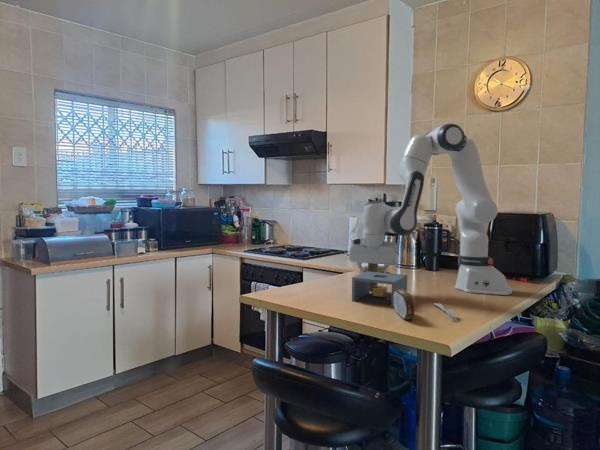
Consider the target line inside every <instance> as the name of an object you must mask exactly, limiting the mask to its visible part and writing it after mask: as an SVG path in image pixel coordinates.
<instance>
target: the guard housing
mask: <svg viewBox="0 0 600 450" xmlns="http://www.w3.org/2000/svg"><path fill="white" fill-rule="evenodd" d="M351 279H352V280H351V302H356V301H358V300H361V299H362V301H364V302H370V303H375V304H382V305H383V304H385V305H389V304H390V307H391V308H394V304H393V303H394V300H393V292H394V290H395V289H404V290H405V291H407V292H408V274H401V273H400V274H398V273H392V272H391V273H388V272H386V273H380V272H370V271H367V272H365V273H359V274H357V275H355V276H352V277H351ZM370 282H374V283H377V284H385V285H391V294H387V295H386V296H384V297H380V296H373V292H371V291H370Z"/></svg>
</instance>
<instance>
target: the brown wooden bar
mask: <svg viewBox="0 0 600 450" xmlns="http://www.w3.org/2000/svg"><path fill="white" fill-rule="evenodd" d="M368 271H370V272H378V264H373V263H368ZM376 286H378V283H374V282H370V292H373V288H374V287H376Z"/></svg>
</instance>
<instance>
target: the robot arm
mask: <svg viewBox="0 0 600 450" xmlns="http://www.w3.org/2000/svg"><path fill="white" fill-rule="evenodd" d="M442 154H443V155H444V154H447V155H448V156H449V158H450V159H451V165H452V170H453V175H454V180H455V184H456V189H458V191H459V193H460V196H461V197H462V199H461V200H459V201H458V202H457V203H456V205H455V209H454V211H455V214H456V217H457V223H458V224H457V225H458V230H459V237H460V240H459V254H458V259H457V261H458V263H457V266H458V273H457V277H456V282H455V285H454V288H455V289H457V290H461V291H463V292H466V293H473V294H486V295H500V296H502V295H503V296H508V295H509V296H510V295H511V294H513V288H512V287H509V286H508V282H507V279H506V276H505V275H504V274H503V273H502V272H501V271H499V270H498V269H497V268H495V267H494V266H493V264H494V259H493V258H492V257H490V256H489V236H488V234H487V231H486V227H485V224H487V223H489V222H492V221H494V220H495V218H496V217H497V215H498V213H499V212H498V206H497V204H496V203H495V202H494V200H493V199H492V196H491V193H490V191H489V189H488V186H487V183H486V181H485V177H484V173H483V167H482V164H481V163H482V162H481V158H480V153H479V151H478V148H477V145H476V143H475V142H474V140H473V139H471V138H468V137H467V136H466V134H465V132H464V130H463V129H462V128H461V126H460V125H458V124H455V123H447V124H444V125H443V124H442V125H440V126H437V127H435V129H433V130H430V131H429V132H427V133H426V134H425V135H424V134H416V135H413V136H412V137H410V139H409V140H408V143H407V145H406V147H405V148H404V152H403V154H402V155H401V159H400V162H399V166H398V175H399V177H400V178H401V179H402V181H403V182H404V184H405V191H404V194H403V199H402V202H401V204H400V205H401V206H400V207H399V208H398V209H396V208H394V207H393V206H392V207H391V206H390V205H387V204H386V203H385V202H384V201H382V200H375V201H374V200H373V201H369V202H367V203H366V204H365V205H364V208H363V215H362V224H363V231H362V236H359V237H357V238H353V239H351V241H350V242H351V243H350V244H351V246H350V247H349V251H348V259H349V262H351V263H356V265H357V268H358V269H359V274H362V273H364V269H363V268H362V266H361V265H362V263H373V264H384V267H386V268H385V270H384V271H382V273H387V271H389V270H388V269H389V268H390V266H396V265H397V264H398V263H399V253H398V252H399V245H398V243H396V242H394V241H386V240H385V238H386V237H385V236H386V235H385V233H386V232H389V233H392V234H396V235H398V236H401V237H402V236H403V237H406V236H410V235H411V234H412V233H413V232H414V231H415V230H416V229H417V226H418V208H419V205H420V201H421V196H422V193H423V188H424V183H425V176H426V173H427V170H428V166H429V165H430V164H429V163H430V161H431V158H432V156H433V155H434V156H436V155H442Z"/></svg>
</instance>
